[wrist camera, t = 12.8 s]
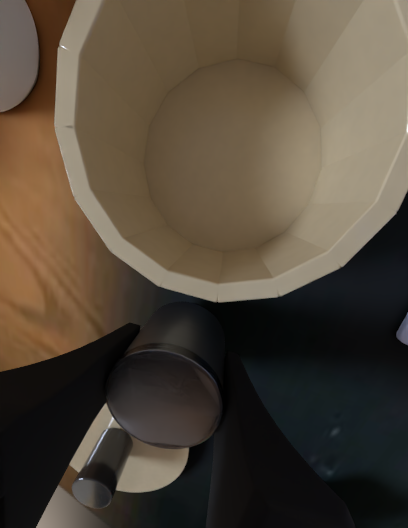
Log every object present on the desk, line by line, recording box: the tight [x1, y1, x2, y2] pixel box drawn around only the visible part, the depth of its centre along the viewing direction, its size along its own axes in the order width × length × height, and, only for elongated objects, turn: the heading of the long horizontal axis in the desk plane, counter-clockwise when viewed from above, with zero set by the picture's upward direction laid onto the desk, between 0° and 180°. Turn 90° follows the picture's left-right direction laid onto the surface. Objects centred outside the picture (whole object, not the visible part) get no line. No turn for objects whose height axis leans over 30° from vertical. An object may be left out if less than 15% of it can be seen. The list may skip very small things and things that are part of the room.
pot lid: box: [70, 403, 189, 508], centre depth 15 cm, size 11×11×4 cm
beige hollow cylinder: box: [54, 0, 408, 303], centre depth 9 cm, size 10×10×6 cm
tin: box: [105, 302, 225, 449], centre depth 11 cm, size 5×5×4 cm
